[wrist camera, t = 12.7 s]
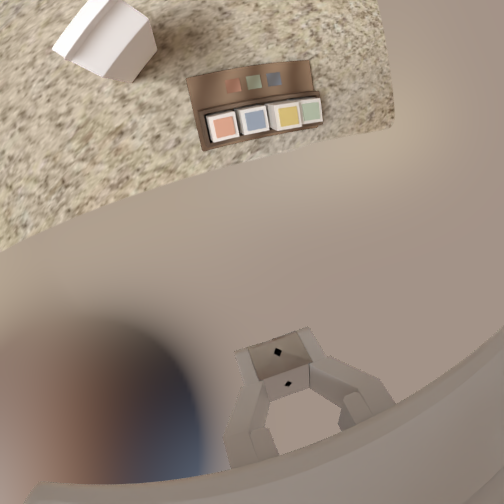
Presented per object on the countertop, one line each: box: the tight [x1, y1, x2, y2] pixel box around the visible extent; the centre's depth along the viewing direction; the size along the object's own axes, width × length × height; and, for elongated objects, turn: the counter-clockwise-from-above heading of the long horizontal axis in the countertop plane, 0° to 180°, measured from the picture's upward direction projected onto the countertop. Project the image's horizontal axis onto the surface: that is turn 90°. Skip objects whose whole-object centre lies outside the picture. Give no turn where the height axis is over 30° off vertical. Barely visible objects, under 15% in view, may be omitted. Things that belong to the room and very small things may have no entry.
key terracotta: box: [205, 110, 240, 142], centre depth 36 cm, size 3×3×4 cm
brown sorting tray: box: [186, 60, 323, 151], centre depth 37 cm, size 18×11×4 cm, turn 100°
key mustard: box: [264, 100, 302, 131], centre depth 35 cm, size 3×3×4 cm
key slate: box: [234, 104, 269, 135], centre depth 36 cm, size 3×3×4 cm
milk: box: [52, 0, 157, 83], centre depth 21 cm, size 6×6×22 cm
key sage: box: [287, 97, 323, 124], centre depth 37 cm, size 3×3×4 cm
